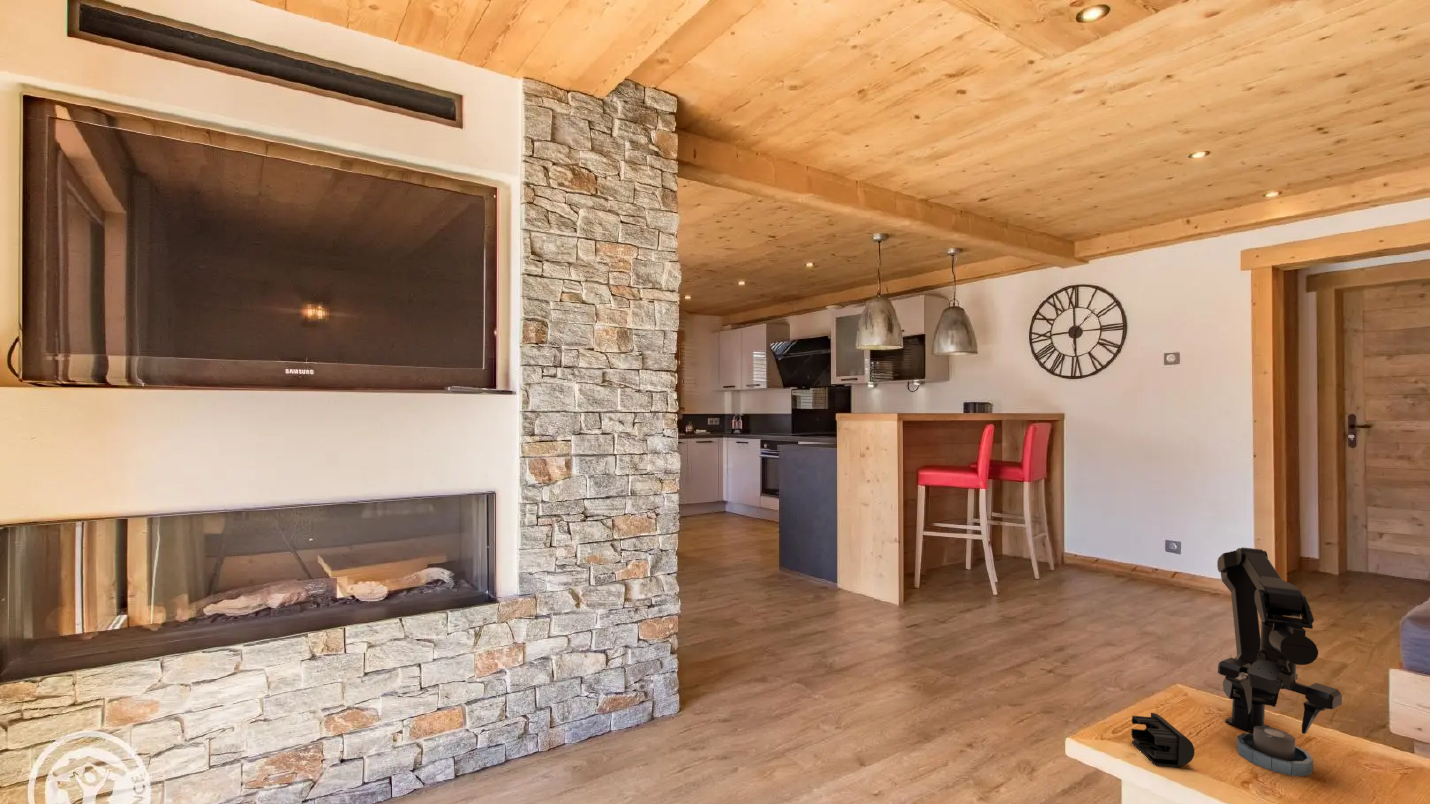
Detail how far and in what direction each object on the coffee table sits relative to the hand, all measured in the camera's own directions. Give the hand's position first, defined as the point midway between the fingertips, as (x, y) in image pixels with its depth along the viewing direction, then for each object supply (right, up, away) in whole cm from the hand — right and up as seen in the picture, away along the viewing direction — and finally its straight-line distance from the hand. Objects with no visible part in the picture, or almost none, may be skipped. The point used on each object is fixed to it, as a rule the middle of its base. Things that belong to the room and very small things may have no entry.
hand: (1275, 723), depth 134 cm
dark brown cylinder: (0, -7, 0) cm, 7 cm away
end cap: (-24, -7, 0) cm, 25 cm away
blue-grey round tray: (0, -8, 0) cm, 8 cm away
